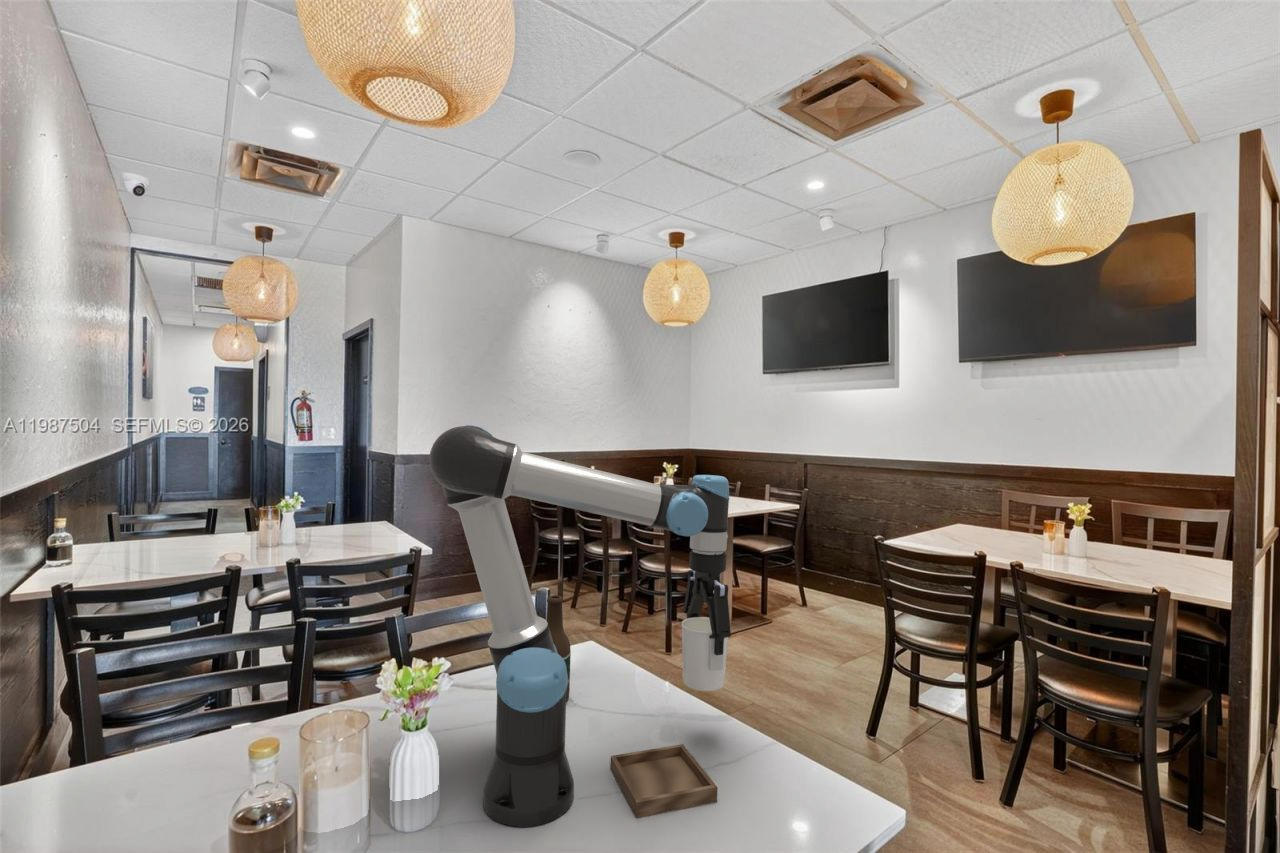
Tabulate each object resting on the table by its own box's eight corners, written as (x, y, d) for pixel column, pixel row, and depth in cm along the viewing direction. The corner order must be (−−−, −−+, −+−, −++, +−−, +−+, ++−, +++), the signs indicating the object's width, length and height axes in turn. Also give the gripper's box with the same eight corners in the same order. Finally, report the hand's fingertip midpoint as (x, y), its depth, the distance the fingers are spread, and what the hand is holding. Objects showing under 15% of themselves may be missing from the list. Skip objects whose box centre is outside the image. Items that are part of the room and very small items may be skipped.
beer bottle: (551, 690, 144) (554, 590, 144) (576, 699, 139) (579, 596, 139) (528, 701, 137) (531, 597, 138) (552, 711, 133) (555, 603, 133)
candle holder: (726, 675, 127) (728, 618, 127) (728, 695, 117) (730, 633, 117) (680, 671, 128) (682, 615, 128) (678, 691, 118) (680, 630, 118)
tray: (636, 818, 97) (636, 802, 97) (610, 769, 111) (610, 755, 111) (717, 801, 102) (717, 786, 102) (682, 757, 116) (682, 744, 116)
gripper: (752, 561, 114) (747, 680, 113) (701, 540, 135) (697, 640, 134) (716, 563, 111) (712, 684, 111) (670, 541, 132) (666, 642, 132)
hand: (704, 659), depth 123 cm, fingers closed on candle holder, 10 cm apart
